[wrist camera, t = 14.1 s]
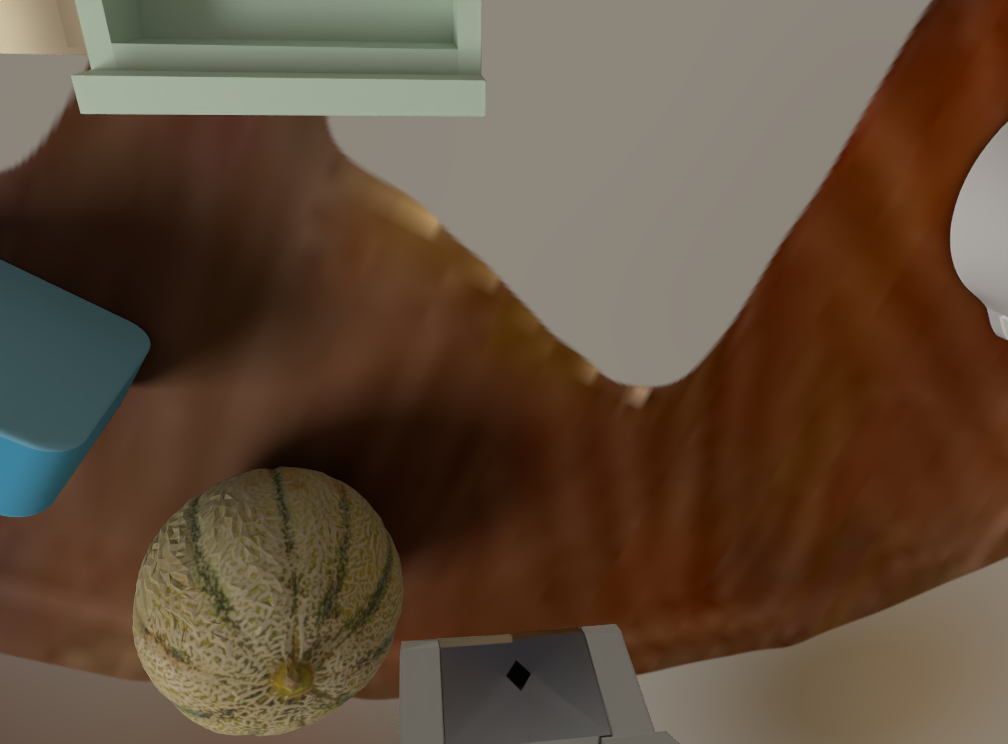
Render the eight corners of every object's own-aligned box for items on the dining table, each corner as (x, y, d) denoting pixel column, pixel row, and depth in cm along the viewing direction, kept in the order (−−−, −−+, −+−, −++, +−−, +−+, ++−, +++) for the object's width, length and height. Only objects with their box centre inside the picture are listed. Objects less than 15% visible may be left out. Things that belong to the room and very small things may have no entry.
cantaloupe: (143, 550, 47) (42, 768, 34) (228, 384, 41) (146, 566, 28) (345, 614, 52) (325, 825, 39) (443, 473, 47) (456, 662, 34)
